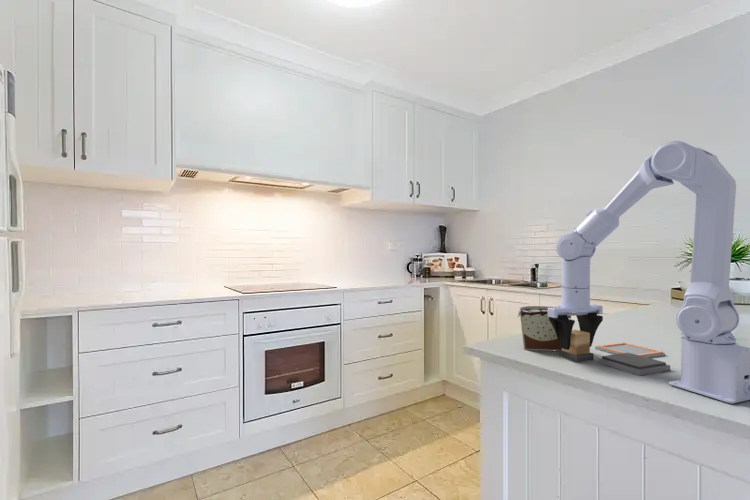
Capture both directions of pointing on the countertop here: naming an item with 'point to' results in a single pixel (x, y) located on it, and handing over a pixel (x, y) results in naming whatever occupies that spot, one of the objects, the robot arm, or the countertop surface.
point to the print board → (630, 350)
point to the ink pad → (634, 363)
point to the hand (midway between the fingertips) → (575, 347)
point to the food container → (538, 329)
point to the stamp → (578, 347)
